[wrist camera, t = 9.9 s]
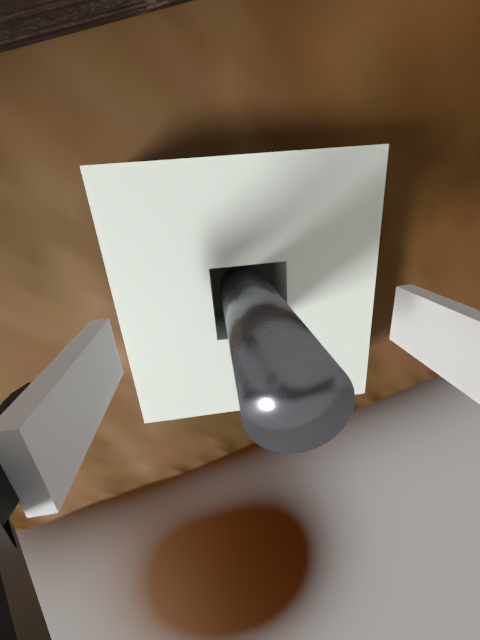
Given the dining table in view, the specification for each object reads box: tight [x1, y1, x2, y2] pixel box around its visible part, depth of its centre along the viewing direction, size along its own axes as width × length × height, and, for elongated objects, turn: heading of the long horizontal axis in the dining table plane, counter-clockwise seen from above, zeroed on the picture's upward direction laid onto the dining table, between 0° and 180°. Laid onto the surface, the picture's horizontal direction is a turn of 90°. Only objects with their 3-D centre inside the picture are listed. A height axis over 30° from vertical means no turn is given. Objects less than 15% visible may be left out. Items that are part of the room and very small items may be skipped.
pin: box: [220, 265, 355, 453], centre depth 15 cm, size 3×3×14 cm
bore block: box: [80, 144, 389, 423], centre depth 20 cm, size 16×16×5 cm
